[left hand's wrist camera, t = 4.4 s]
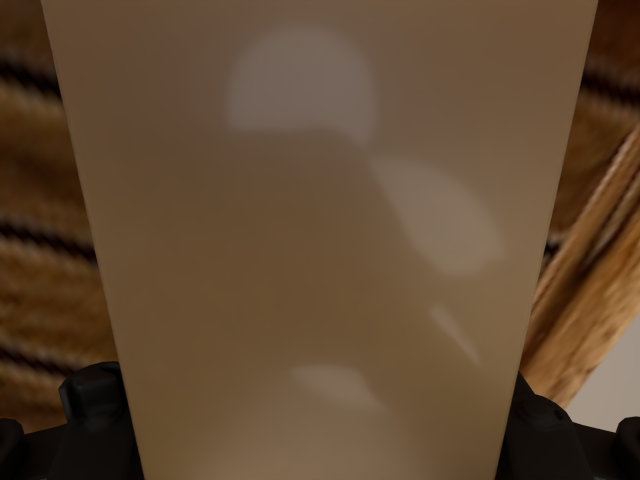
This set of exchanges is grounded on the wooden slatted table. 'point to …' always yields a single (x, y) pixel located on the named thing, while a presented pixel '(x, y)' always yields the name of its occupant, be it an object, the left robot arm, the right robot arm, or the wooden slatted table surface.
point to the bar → (319, 221)
